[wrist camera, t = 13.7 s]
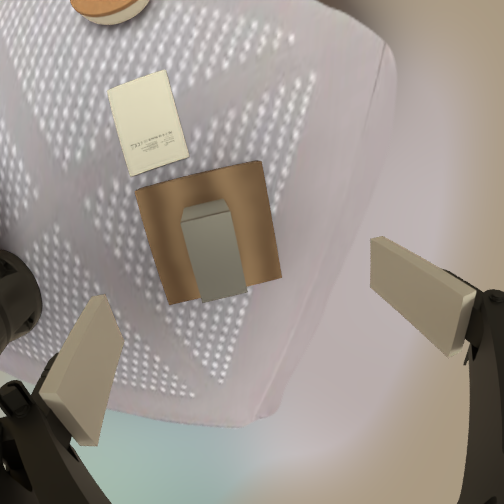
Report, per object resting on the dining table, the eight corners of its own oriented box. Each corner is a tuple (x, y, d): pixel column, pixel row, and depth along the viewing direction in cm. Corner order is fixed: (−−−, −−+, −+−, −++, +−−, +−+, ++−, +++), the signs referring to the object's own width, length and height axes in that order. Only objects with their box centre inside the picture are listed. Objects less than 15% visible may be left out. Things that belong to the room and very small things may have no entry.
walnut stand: (170, 295, 43) (169, 305, 40) (139, 188, 37) (134, 191, 34) (276, 269, 44) (281, 277, 41) (256, 160, 39) (261, 161, 36)
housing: (201, 273, 39) (202, 302, 32) (184, 207, 36) (180, 223, 29) (237, 265, 40) (247, 292, 32) (223, 198, 36) (230, 211, 29)
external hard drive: (166, 72, 33) (190, 156, 37) (109, 92, 32) (132, 176, 37) (165, 68, 31) (189, 156, 36) (106, 90, 31) (129, 177, 35)
